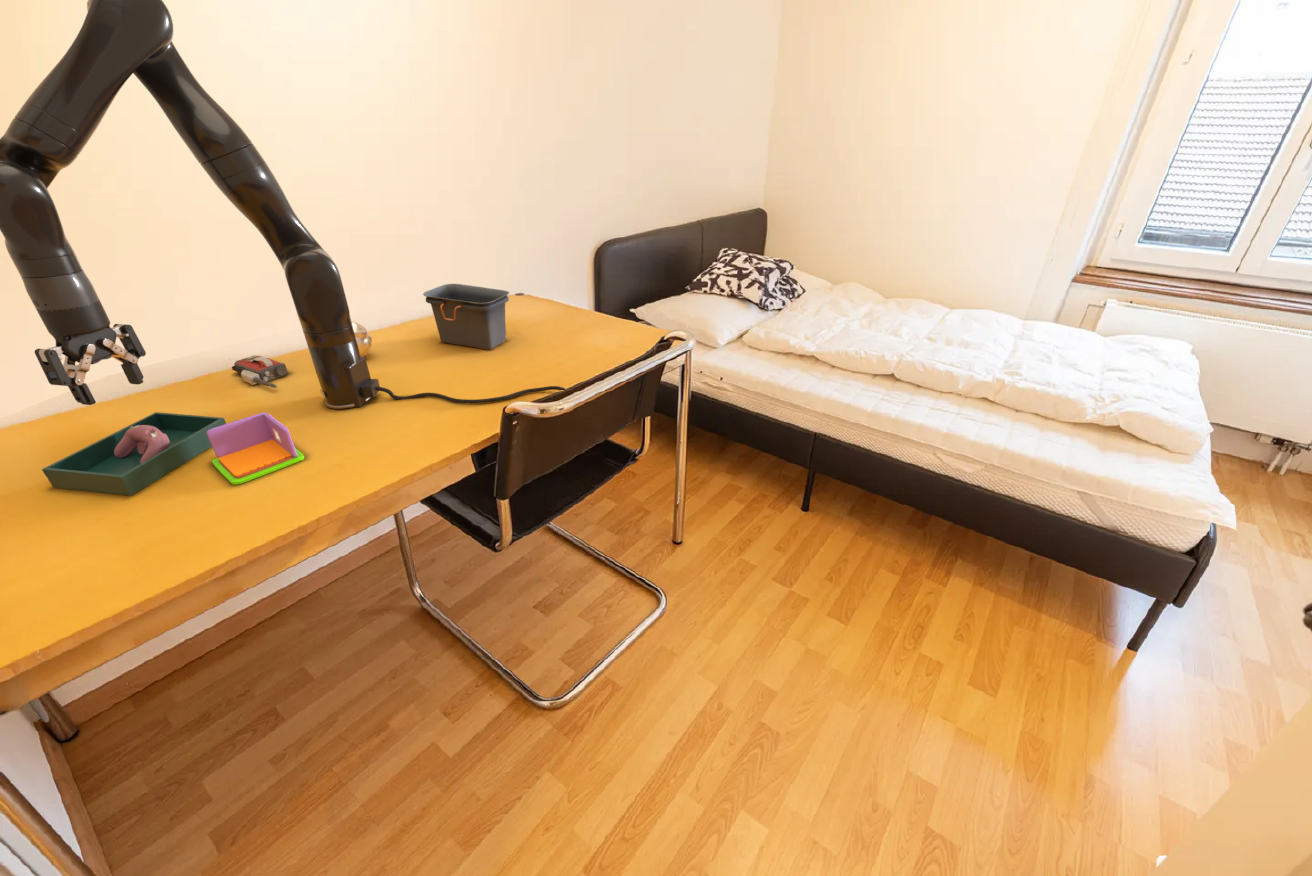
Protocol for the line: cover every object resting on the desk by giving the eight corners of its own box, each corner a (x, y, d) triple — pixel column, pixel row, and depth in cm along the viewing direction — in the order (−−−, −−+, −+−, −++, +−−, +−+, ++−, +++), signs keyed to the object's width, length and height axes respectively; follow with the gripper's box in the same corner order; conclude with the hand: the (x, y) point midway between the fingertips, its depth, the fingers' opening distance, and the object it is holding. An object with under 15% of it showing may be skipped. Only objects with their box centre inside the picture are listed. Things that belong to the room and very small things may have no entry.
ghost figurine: (358, 367, 142) (347, 329, 137) (328, 362, 145) (317, 325, 140) (383, 355, 150) (374, 319, 145) (355, 350, 152) (345, 314, 147)
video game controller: (172, 468, 103) (176, 431, 103) (141, 470, 99) (146, 431, 99) (141, 456, 107) (145, 420, 106) (111, 457, 103) (115, 420, 102)
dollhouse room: (281, 438, 111) (269, 407, 108) (307, 459, 105) (295, 427, 101) (210, 462, 103) (195, 430, 100) (233, 487, 97) (219, 453, 93)
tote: (231, 434, 112) (223, 417, 110) (131, 495, 94) (121, 477, 92) (163, 428, 114) (155, 412, 112) (53, 487, 96) (41, 469, 94)
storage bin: (519, 339, 162) (514, 289, 154) (489, 358, 149) (481, 305, 142) (457, 330, 167) (449, 282, 160) (423, 347, 155) (412, 296, 148)
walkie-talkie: (224, 376, 137) (272, 393, 128) (217, 359, 135) (266, 376, 126) (261, 364, 144) (309, 380, 135) (255, 347, 141) (303, 363, 133)
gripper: (38, 316, 83) (91, 413, 91) (130, 290, 95) (169, 378, 103) (-5, 313, 84) (51, 409, 92) (91, 288, 96) (133, 375, 104)
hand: (114, 393), depth 97 cm, fingers open, 8 cm apart
